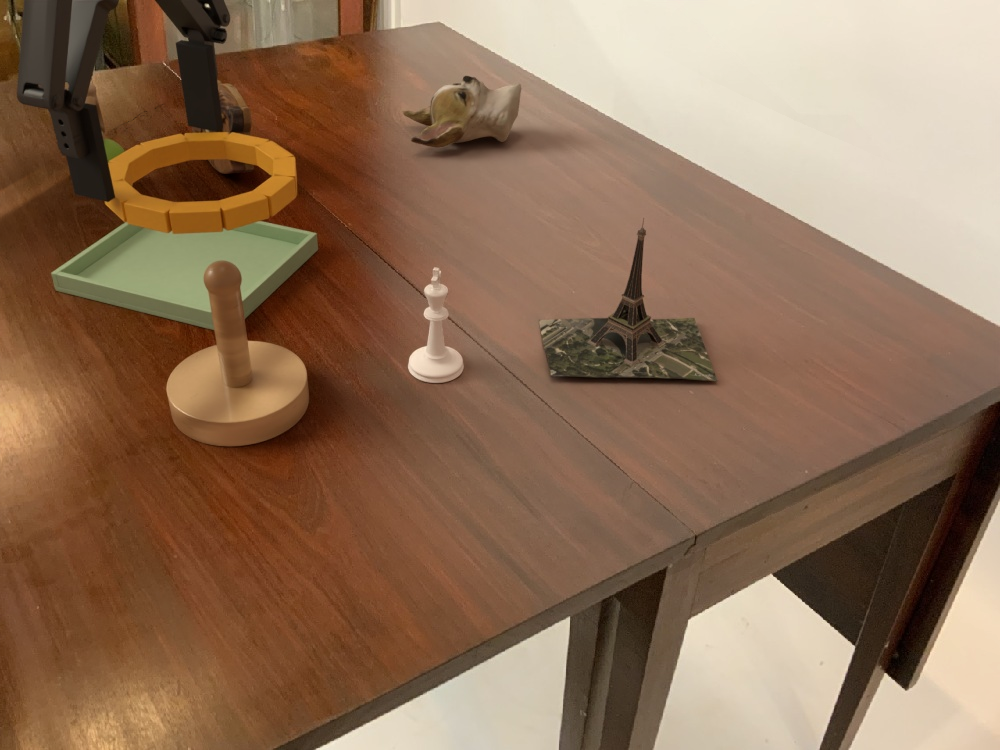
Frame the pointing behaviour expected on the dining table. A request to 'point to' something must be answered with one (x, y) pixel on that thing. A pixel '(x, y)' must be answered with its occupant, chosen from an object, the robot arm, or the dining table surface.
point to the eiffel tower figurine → (627, 340)
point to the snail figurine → (110, 145)
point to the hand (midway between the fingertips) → (154, 159)
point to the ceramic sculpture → (467, 113)
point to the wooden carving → (231, 126)
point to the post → (236, 377)
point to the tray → (183, 268)
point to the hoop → (202, 213)
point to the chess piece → (435, 341)
